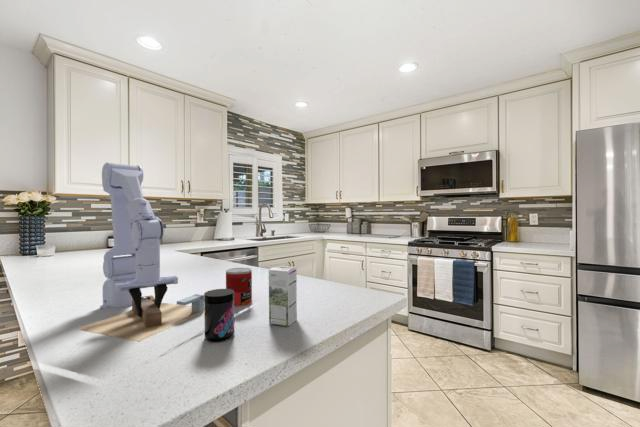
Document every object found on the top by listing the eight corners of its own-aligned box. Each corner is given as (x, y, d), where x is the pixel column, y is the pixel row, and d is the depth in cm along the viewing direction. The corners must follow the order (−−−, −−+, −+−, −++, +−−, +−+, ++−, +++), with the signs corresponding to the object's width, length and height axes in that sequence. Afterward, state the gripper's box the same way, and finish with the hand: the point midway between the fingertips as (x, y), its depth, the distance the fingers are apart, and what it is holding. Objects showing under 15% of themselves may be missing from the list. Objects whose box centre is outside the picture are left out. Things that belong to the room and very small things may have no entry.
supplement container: (207, 345, 66) (206, 298, 66) (202, 334, 71) (201, 291, 71) (238, 338, 69) (237, 293, 69) (230, 328, 75) (230, 287, 75)
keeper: (176, 318, 80) (176, 301, 80) (196, 309, 87) (196, 294, 87) (185, 319, 79) (184, 302, 79) (204, 310, 86) (204, 295, 86)
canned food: (245, 309, 90) (245, 272, 90) (221, 307, 91) (220, 271, 91) (256, 301, 97) (255, 267, 97) (233, 300, 99) (233, 267, 99)
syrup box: (297, 319, 81) (297, 266, 81) (288, 327, 75) (287, 270, 75) (278, 317, 83) (278, 265, 83) (268, 325, 77) (267, 268, 77)
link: (132, 309, 88) (131, 298, 88) (152, 305, 91) (152, 295, 91) (142, 328, 73) (141, 315, 73) (165, 323, 76) (165, 311, 76)
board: (75, 332, 73) (75, 328, 73) (156, 304, 95) (156, 301, 95) (139, 344, 66) (139, 341, 66) (210, 311, 88) (210, 308, 88)
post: (137, 310, 87) (137, 298, 87) (144, 308, 89) (143, 296, 89) (142, 311, 86) (142, 298, 86) (149, 309, 88) (149, 296, 88)
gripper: (117, 269, 73) (117, 324, 73) (180, 262, 82) (181, 312, 83) (114, 265, 79) (114, 317, 79) (174, 259, 88) (174, 305, 88)
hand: (148, 314), depth 81 cm, fingers closed on link, 3 cm apart
